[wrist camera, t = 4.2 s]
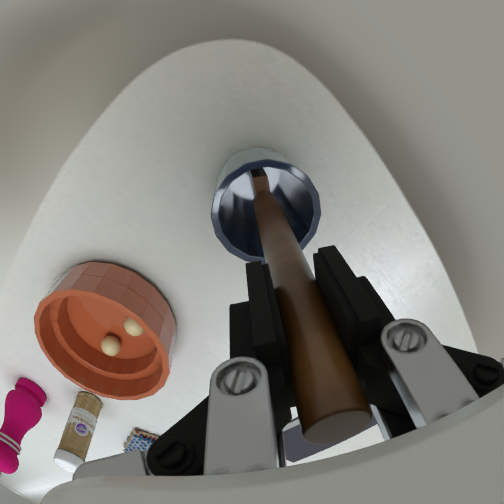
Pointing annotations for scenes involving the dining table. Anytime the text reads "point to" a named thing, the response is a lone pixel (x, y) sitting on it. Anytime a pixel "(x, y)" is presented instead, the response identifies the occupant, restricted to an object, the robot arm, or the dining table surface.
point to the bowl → (107, 331)
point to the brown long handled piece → (308, 332)
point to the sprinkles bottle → (78, 432)
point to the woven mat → (139, 441)
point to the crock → (241, 198)
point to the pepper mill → (19, 421)
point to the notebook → (300, 447)
